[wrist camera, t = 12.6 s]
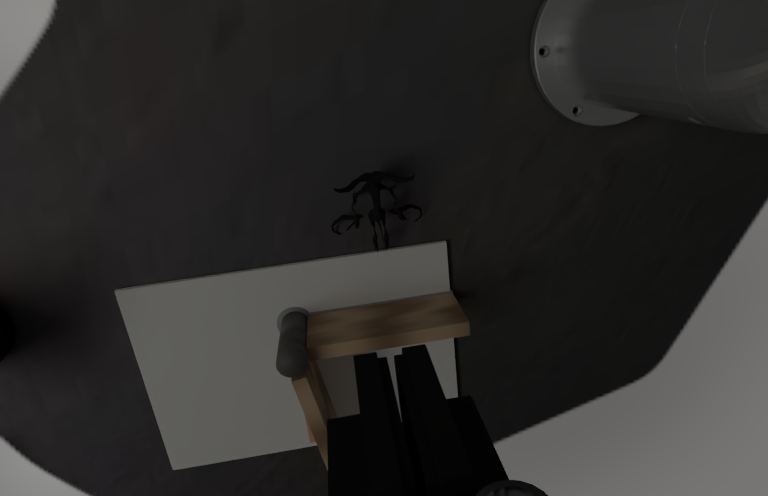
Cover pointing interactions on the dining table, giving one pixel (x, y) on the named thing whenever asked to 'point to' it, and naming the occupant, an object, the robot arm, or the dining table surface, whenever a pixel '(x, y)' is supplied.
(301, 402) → the gate panel
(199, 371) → the card
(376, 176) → the creature
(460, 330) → the fence
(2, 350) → the supplement bottle
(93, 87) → the dining table surface
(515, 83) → the dining table surface
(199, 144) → the dining table surface
